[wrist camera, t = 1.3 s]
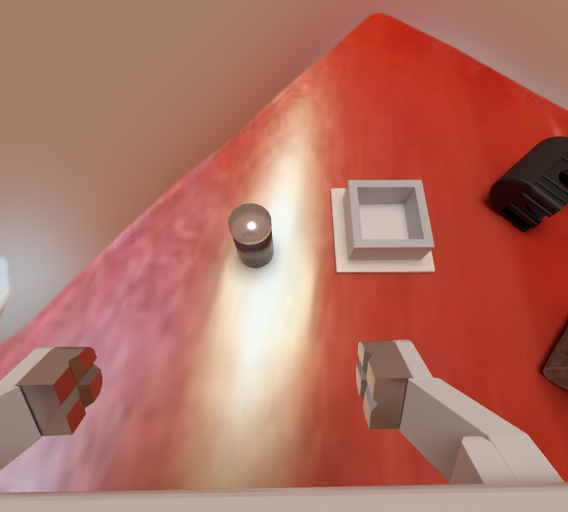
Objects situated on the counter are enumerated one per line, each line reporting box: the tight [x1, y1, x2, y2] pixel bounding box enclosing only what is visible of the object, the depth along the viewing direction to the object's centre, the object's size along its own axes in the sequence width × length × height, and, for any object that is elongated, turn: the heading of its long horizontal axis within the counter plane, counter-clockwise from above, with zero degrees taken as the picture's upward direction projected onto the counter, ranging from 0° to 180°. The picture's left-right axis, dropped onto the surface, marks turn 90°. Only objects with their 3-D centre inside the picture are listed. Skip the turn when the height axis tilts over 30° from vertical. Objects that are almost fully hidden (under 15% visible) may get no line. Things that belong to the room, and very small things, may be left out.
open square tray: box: [331, 180, 435, 273], centre depth 40 cm, size 12×12×5 cm
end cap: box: [490, 137, 568, 232], centre depth 41 cm, size 10×7×7 cm
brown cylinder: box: [228, 203, 273, 268], centre depth 37 cm, size 4×4×8 cm
